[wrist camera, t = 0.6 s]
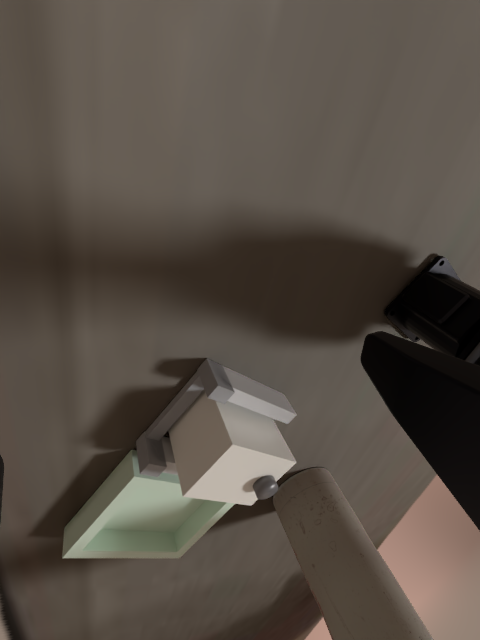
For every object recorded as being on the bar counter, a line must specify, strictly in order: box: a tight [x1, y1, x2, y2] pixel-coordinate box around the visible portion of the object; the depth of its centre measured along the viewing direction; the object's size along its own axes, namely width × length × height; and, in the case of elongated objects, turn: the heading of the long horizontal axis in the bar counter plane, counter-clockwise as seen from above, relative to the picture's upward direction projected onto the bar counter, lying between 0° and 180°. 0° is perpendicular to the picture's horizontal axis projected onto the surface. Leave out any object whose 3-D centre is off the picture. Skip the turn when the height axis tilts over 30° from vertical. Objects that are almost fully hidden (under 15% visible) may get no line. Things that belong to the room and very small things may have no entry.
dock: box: [136, 358, 297, 477], centre depth 28 cm, size 9×9×3 cm
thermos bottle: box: [273, 467, 433, 640], centre depth 31 cm, size 8×8×28 cm
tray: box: [62, 449, 234, 558], centre depth 31 cm, size 12×11×2 cm
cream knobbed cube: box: [168, 390, 296, 506], centre depth 27 cm, size 7×6×7 cm
